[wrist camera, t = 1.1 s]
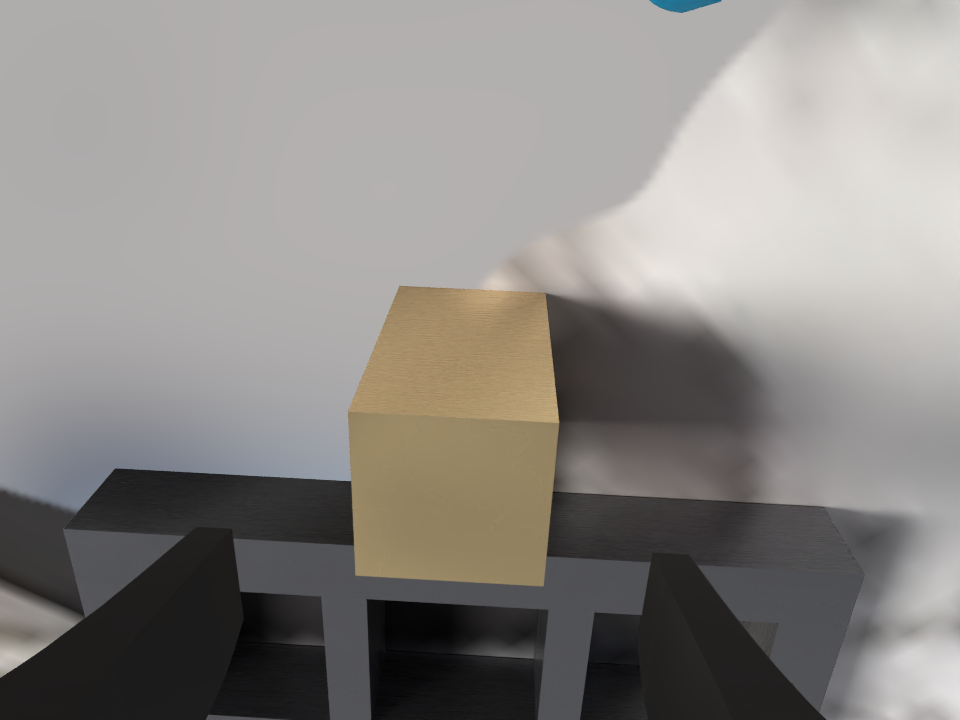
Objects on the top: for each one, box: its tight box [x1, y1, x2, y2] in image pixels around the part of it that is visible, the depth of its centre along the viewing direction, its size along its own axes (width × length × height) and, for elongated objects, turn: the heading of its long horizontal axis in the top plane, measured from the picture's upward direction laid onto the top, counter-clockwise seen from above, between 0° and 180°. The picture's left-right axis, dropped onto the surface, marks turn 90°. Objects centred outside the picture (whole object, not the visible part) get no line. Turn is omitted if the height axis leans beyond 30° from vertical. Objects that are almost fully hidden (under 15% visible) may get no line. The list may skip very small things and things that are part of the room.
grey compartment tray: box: [63, 469, 864, 720], centre depth 24 cm, size 22×9×3 cm, turn 88°
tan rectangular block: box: [348, 286, 559, 586], centre depth 18 cm, size 4×4×7 cm
